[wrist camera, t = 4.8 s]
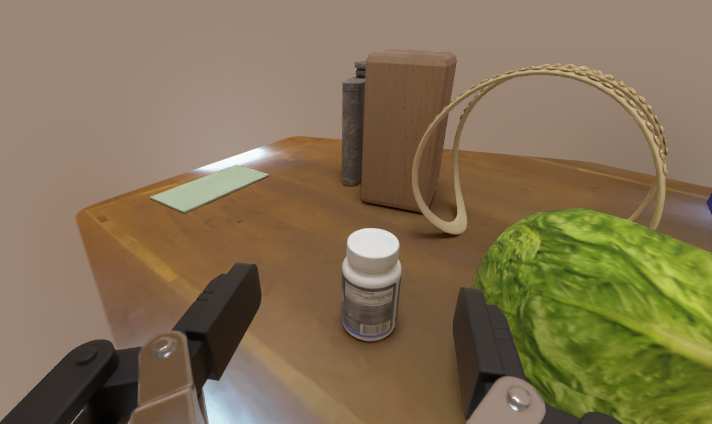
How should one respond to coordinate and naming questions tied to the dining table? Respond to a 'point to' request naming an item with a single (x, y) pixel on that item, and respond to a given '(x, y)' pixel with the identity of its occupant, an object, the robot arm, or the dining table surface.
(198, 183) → the edge mat
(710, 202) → the cereal box
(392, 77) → the wooden block
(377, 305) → the pill bottle
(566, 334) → the lettuce
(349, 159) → the flask
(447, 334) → the dining table surface
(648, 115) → the octopus tentacle
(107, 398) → the robot arm
